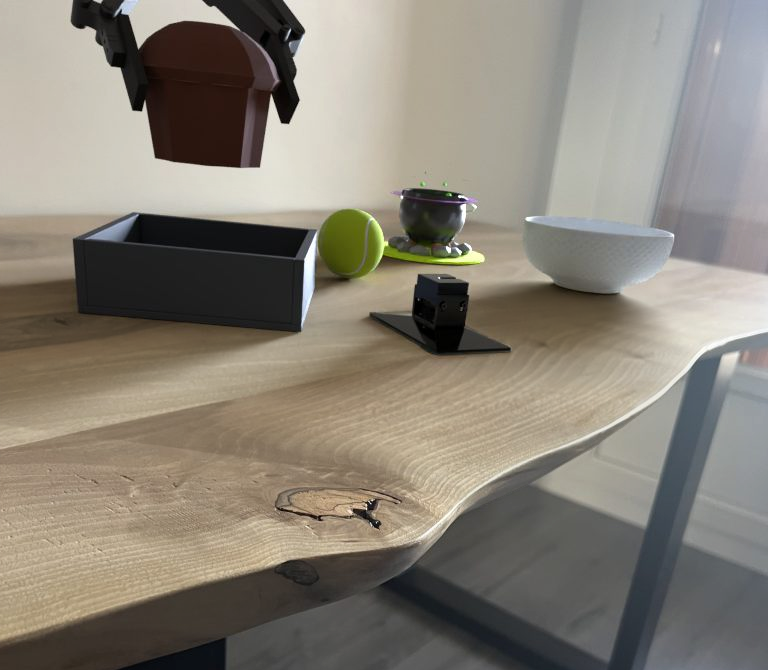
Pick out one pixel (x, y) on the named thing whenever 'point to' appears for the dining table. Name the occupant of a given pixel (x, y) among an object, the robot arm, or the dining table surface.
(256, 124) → the muffin
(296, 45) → the robot arm
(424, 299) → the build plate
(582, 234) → the cereal bowl
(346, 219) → the tennis ball
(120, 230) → the bin
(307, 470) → the dining table surface
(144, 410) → the dining table surface
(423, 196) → the toy cauldron
